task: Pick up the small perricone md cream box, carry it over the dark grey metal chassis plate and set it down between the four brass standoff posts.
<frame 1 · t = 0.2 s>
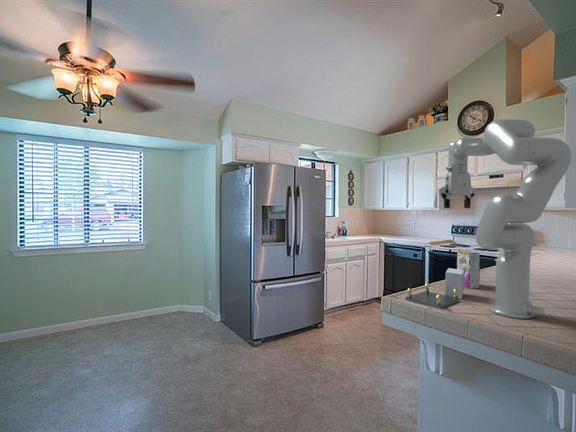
hand: (457, 208, 140), 36 cm above the countertop, tool pointing down, fingers open, 9 cm apart
chassis: (432, 300, 123), on the countertop
skincare box: (454, 296, 130), on the countertop
candy bar box: (467, 286, 146), on the countertop
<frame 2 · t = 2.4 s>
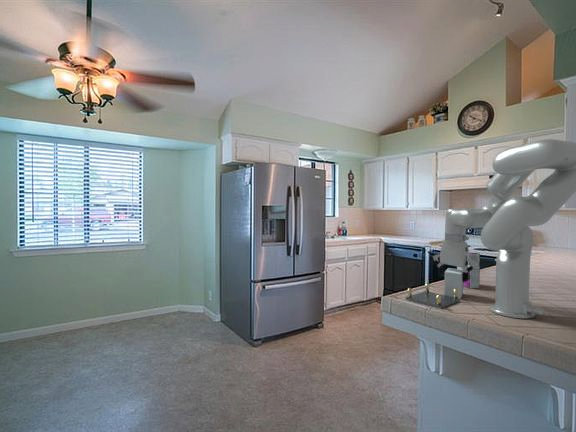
hand: (452, 278, 130), 7 cm above the countertop, tool pointing down, fingers open, 9 cm apart
skincare box: (453, 295, 130), on the countertop, touching gripper
everything else where it was.
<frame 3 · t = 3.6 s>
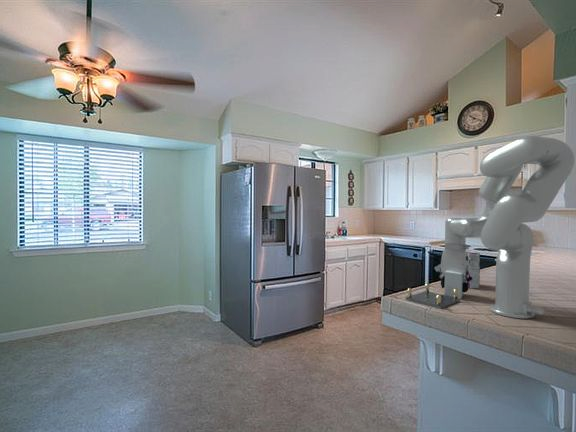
hand: (454, 289, 130), 3 cm above the countertop, tool pointing down, fingers closed on skincare box, 7 cm apart
skincare box: (454, 296, 130), on the countertop, touching gripper
everything else where it was.
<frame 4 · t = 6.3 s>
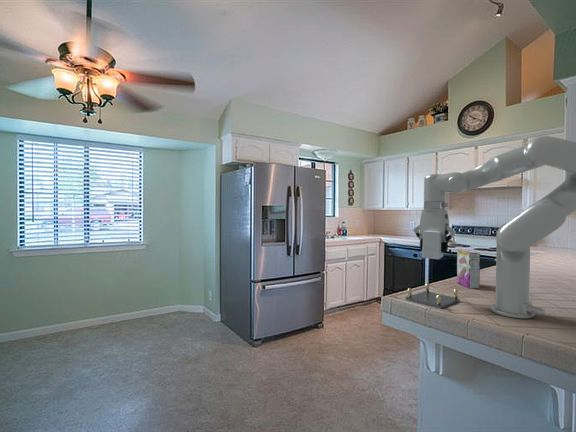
hand: (433, 250, 122), 20 cm above the countertop, tool pointing down, fingers closed on skincare box, 7 cm apart
skincare box: (433, 257, 122), point 17 cm above the countertop, touching gripper
everything else where it was.
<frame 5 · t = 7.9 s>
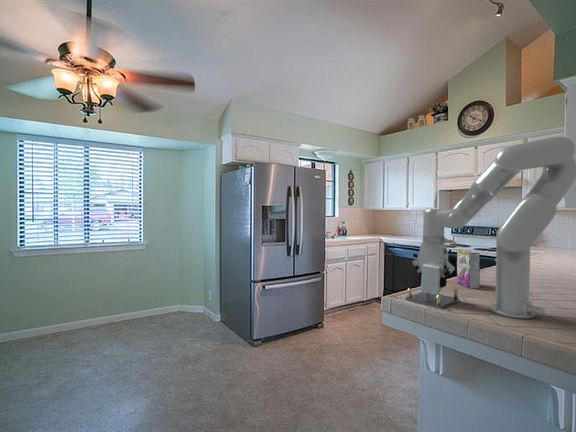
hand: (432, 284, 123), 6 cm above the countertop, tool pointing down, fingers closed on skincare box, 7 cm apart
skincare box: (431, 291, 123), point 4 cm above the countertop, touching gripper
everything else where it was.
when the fingers open (5 cm above the countertop, at t = 9.0 s): skincare box drops 2 cm, resting on chassis.
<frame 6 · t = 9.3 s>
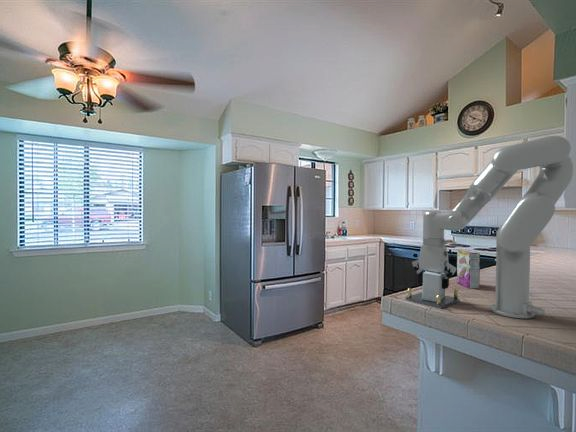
hand: (432, 285, 122), 6 cm above the countertop, tool pointing down, fingers open, 9 cm apart
skincare box: (434, 298, 122), point 1 cm above the countertop, touching chassis
everything else where it was.
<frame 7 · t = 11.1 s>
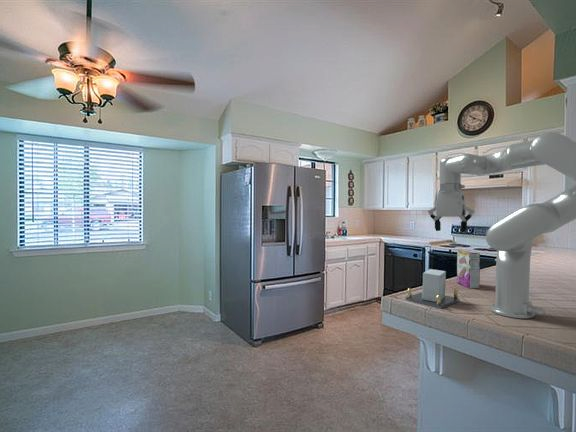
hand: (450, 231, 125), 27 cm above the countertop, tool pointing down, fingers open, 9 cm apart
nothing on the countertop moved.
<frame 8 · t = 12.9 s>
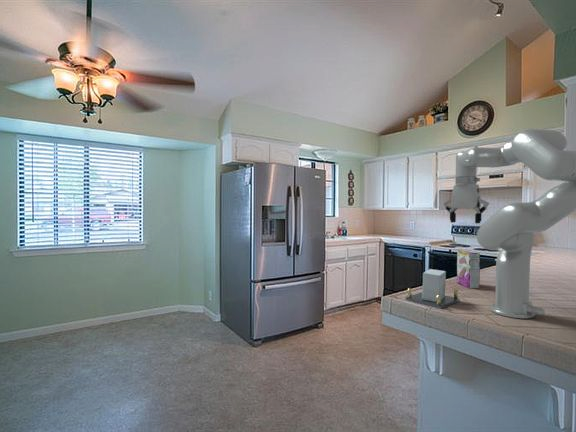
hand: (465, 222, 130), 30 cm above the countertop, tool pointing down, fingers open, 9 cm apart
nothing on the countertop moved.
at the end: skincare box 0.5 cm off-centre on the chassis, point 0.8 cm above the chassis's base; skincare box tilted 0°; the gripper is holding nothing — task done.
